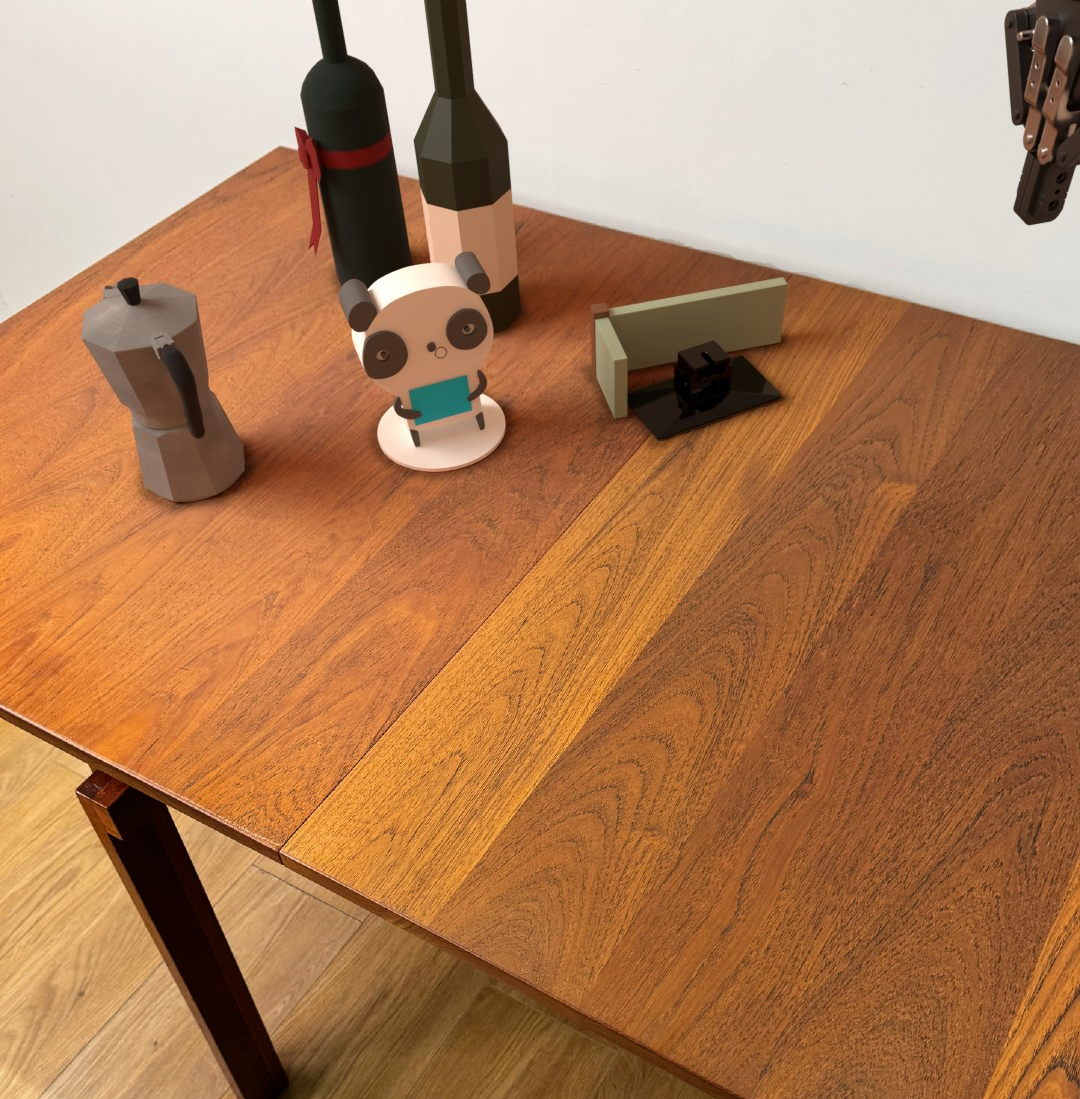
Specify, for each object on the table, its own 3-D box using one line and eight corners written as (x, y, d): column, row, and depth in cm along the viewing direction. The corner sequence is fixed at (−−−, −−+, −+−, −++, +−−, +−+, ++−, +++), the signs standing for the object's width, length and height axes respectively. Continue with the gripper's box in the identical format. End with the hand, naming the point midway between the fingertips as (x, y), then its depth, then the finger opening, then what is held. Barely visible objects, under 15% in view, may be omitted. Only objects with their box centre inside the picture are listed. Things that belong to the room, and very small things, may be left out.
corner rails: (775, 334, 108) (783, 269, 103) (805, 382, 104) (815, 316, 99) (591, 369, 107) (589, 304, 102) (613, 419, 102) (612, 354, 97)
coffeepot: (118, 451, 103) (38, 264, 89) (215, 410, 106) (152, 223, 92) (184, 547, 95) (107, 358, 81) (287, 501, 98) (231, 310, 84)
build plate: (657, 442, 100) (658, 397, 96) (619, 397, 104) (619, 352, 101) (782, 398, 102) (787, 353, 99) (740, 356, 107) (744, 311, 103)
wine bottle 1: (304, 276, 119) (225, -57, 96) (390, 243, 122) (334, -88, 99) (338, 311, 115) (264, -29, 92) (427, 275, 118) (377, -62, 95)
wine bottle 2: (445, 287, 117) (400, -54, 93) (527, 289, 116) (502, -55, 92) (429, 335, 112) (377, -12, 88) (514, 338, 110) (485, -13, 87)
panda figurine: (388, 487, 98) (356, 331, 86) (357, 410, 105) (324, 256, 93) (522, 451, 100) (509, 294, 88) (483, 378, 107) (466, 223, 95)
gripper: (1294, -98, 51) (1153, 264, 65) (1134, -183, 59) (1039, 155, 73) (1137, -74, 51) (1028, 287, 64) (997, -163, 59) (926, 175, 72)
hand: (1034, 216), depth 69 cm, fingers closed
